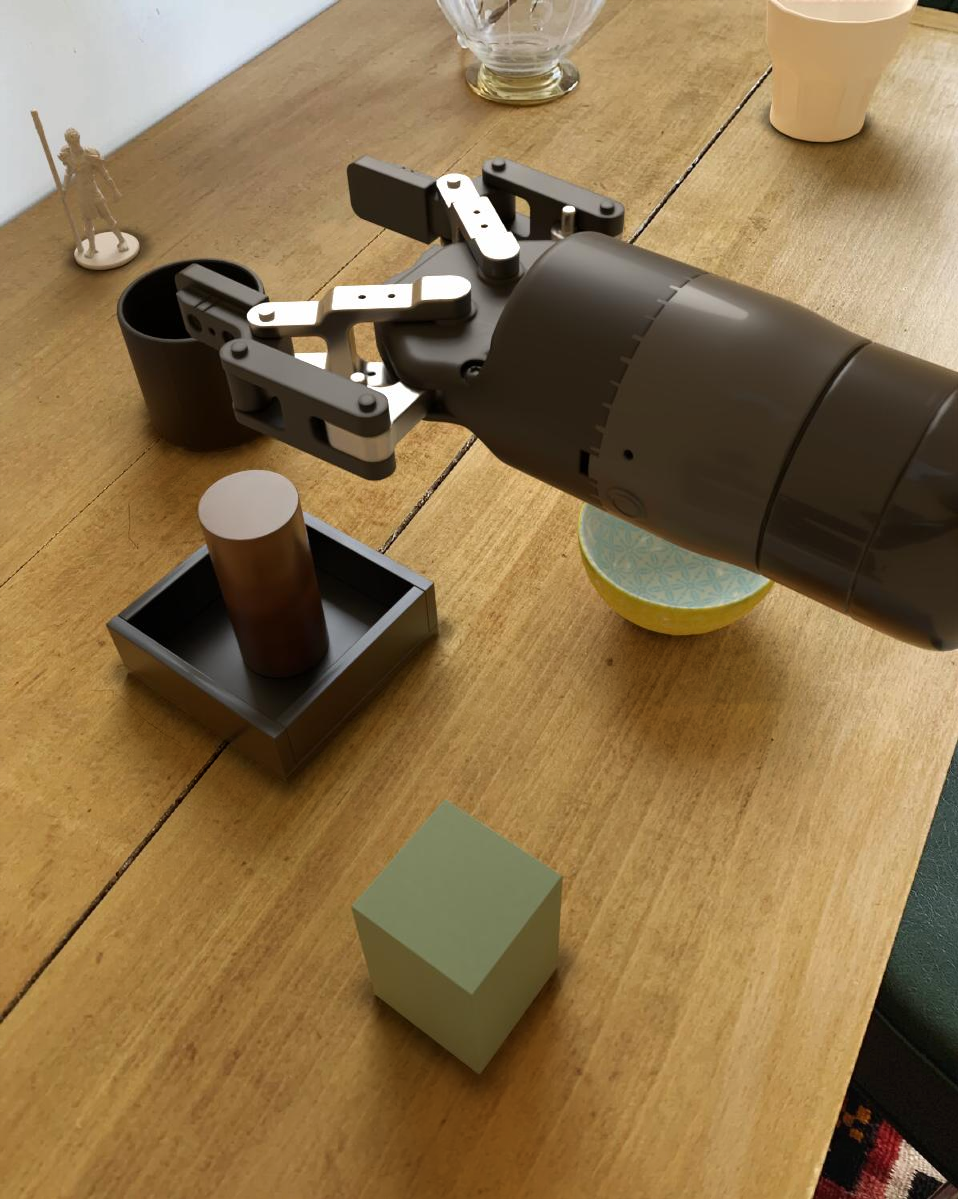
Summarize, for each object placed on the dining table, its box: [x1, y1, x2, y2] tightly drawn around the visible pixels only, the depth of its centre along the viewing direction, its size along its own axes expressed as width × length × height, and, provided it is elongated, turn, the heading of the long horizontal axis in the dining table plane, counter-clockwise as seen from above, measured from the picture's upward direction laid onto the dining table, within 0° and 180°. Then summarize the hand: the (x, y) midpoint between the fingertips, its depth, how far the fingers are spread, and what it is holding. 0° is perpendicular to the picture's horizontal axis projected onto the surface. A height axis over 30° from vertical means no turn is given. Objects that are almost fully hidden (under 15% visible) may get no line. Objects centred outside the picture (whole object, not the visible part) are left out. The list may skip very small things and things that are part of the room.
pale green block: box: [350, 798, 564, 1075], centre depth 47 cm, size 6×6×9 cm
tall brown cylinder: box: [196, 469, 329, 678], centre depth 59 cm, size 5×5×11 cm
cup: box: [765, 0, 919, 143], centre depth 98 cm, size 12×12×11 cm
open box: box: [105, 509, 440, 785], centre depth 62 cm, size 13×13×4 cm
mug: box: [116, 257, 277, 452], centre depth 75 cm, size 9×12×9 cm
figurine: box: [30, 108, 141, 271], centre depth 87 cm, size 5×5×12 cm
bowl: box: [577, 501, 776, 636], centre depth 63 cm, size 11×12×6 cm
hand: (275, 235), depth 39 cm, fingers open, 8 cm apart
